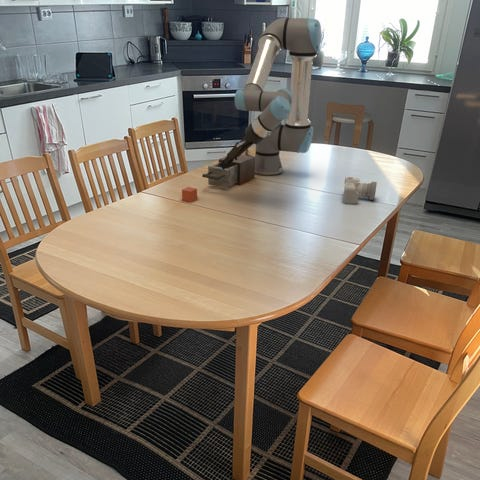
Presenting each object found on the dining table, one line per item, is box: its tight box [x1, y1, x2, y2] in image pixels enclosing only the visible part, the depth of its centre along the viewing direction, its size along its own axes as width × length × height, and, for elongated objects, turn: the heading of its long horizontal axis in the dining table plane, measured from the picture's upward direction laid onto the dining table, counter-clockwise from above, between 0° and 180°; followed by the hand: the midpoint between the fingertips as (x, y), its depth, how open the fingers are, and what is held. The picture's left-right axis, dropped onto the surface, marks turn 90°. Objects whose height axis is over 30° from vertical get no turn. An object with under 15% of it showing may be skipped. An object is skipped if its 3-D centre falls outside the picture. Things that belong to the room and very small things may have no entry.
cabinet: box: [218, 153, 255, 186], centre depth 227 cm, size 13×11×10 cm
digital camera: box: [342, 176, 378, 205], centre depth 208 cm, size 17×14×10 cm
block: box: [181, 186, 198, 203], centre depth 204 cm, size 4×4×4 cm
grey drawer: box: [201, 162, 239, 189], centre depth 218 cm, size 19×10×8 cm, turn 149°
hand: (222, 166), depth 207 cm, fingers closed
